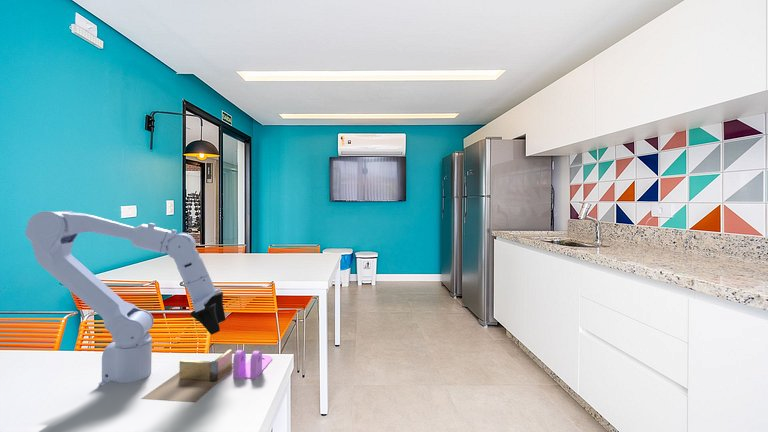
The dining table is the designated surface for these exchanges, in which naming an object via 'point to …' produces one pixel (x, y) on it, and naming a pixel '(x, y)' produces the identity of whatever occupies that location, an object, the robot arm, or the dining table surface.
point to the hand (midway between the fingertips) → (218, 326)
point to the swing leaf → (194, 369)
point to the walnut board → (183, 389)
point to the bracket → (249, 364)
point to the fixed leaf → (220, 365)
